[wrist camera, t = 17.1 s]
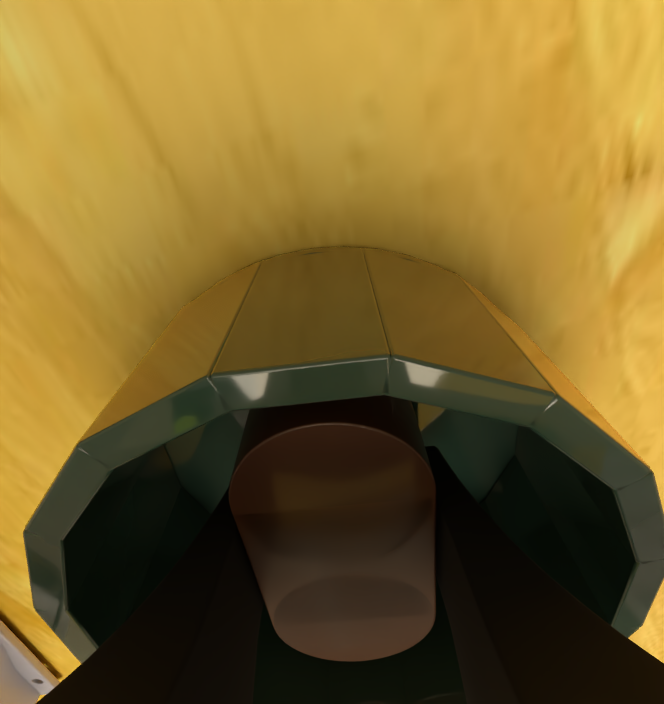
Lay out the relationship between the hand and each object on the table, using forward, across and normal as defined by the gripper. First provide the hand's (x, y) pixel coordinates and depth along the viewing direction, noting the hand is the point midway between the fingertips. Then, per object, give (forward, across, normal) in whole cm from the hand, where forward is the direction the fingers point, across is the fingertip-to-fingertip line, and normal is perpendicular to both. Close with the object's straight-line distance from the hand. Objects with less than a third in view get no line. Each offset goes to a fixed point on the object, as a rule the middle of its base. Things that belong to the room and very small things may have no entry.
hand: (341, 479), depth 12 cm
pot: (+2, 0, 0) cm, 2 cm away
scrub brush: (+2, 0, 0) cm, 2 cm away
